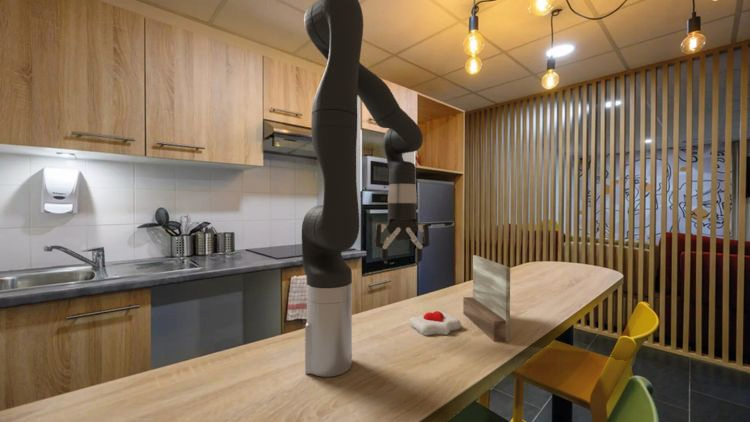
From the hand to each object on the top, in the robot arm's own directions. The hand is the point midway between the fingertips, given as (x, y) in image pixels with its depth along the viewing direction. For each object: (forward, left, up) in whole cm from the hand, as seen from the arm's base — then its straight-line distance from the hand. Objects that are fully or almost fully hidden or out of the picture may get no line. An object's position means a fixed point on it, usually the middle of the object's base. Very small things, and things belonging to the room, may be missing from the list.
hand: (401, 262), depth 83 cm
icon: (+10, 0, -19) cm, 21 cm away
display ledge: (+23, +1, -18) cm, 29 cm away
